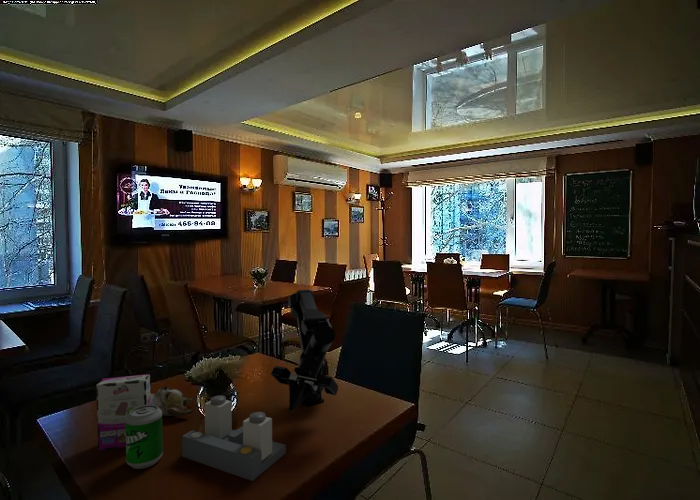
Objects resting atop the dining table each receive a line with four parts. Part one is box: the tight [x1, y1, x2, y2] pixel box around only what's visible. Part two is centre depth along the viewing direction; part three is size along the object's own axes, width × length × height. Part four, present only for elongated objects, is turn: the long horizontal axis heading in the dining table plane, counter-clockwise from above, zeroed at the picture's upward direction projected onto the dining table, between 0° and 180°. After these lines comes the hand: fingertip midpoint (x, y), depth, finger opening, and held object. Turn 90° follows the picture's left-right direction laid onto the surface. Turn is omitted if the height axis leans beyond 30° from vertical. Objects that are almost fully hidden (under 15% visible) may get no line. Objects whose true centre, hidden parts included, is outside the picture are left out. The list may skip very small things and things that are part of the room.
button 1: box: [204, 395, 233, 439], centre depth 99 cm, size 4×5×9 cm
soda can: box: [125, 405, 164, 470], centre depth 91 cm, size 8×8×12 cm
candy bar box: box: [95, 373, 151, 452], centre depth 99 cm, size 11×5×16 cm, turn 105°
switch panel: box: [181, 425, 287, 482], centre depth 93 cm, size 12×21×5 cm, turn 64°
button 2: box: [242, 411, 273, 460], centre depth 89 cm, size 4×5×9 cm
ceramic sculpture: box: [150, 386, 197, 418], centre depth 115 cm, size 11×9×15 cm
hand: (291, 411), depth 102 cm, fingers closed
